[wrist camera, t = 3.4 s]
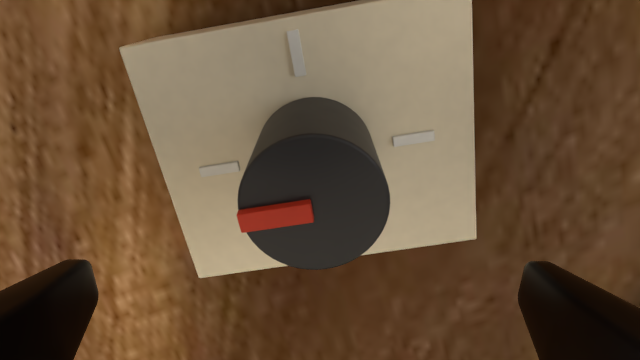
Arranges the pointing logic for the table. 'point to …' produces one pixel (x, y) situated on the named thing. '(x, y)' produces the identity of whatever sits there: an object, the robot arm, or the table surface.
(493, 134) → the table surface
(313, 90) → the dial panel
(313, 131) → the timer dial
